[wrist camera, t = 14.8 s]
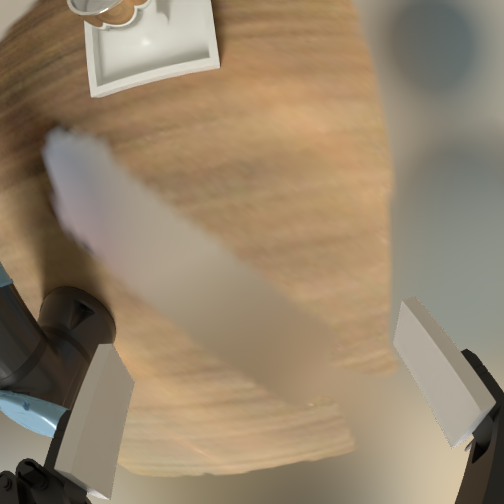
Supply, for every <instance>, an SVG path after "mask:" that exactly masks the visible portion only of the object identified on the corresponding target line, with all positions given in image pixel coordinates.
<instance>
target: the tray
mask: <svg viewBox="0 0 504 504" xmlns="http://www.w3.org/2000/svg"><path fill="white" fill-rule="evenodd" d="M157 6H158V7H160V8H161V9H162V10H164V12H165V13H166V14H167V17H168V27H167V30H166V32H165V33H164V35H163V36H162V37H161V38H160V39H159V40H157V41H156V42H154V43H153V44H150V45H147V46H143V47H137V46H132V45H130V44H128V43H127V42H126V41H125V40H124V39H123V37H122V35H120V34H114V33H109V32H106V31H103V30H100V29H98V28H96V27H94V26H92V25H90V24H89V23H87V22H86V21H85V20H84V23H85V42H86V56H87V67H88V76H89V85H90V92H91V97H98V98H101V97H104V96H107V95H110V94H113V93H116V92H119V91H123V90H126V89H129V88H133V87H136V86H140V85H143V84H147V83H151V82H155V81H159V80H163V79H167V78H172V77H176V76H181V75H186V74H191V73H196V72H201V71H207V70H213V69H220V63H219V56H218V49H217V42H216V35H215V28H214V20H213V13H212V6H211V0H157Z"/></svg>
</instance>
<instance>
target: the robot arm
mask: <svg viewBox="0 0 504 504" xmlns="http://www.w3.org/2000/svg"><path fill="white" fill-rule="evenodd" d="M115 337H116V329H115V324H114V322H113V319H112V317H111V316H110V314H109V312H108V311H107V310H106V308H105V307H104V306H103V305H102V304H101V303H100V302H99V301H98V300H96V299H95V298H94V297H93V296H91V295H90V294H88V293H86V292H84V291H82V290H79V289H76V288H73V287H59V288H56V289H54V290H52V291H51V292H50V293H49V294H48V295H47V297H46V298H45V299H44V301H43V302H42V305H41V308H40V314H39V318H38V321H36V320H35V318H34V317H33V315H32V314H31V312H30V311H29V309H28V308H27V306H26V305H25V303H24V301H23V300H22V298H21V296H20V295H19V293H18V291H17V289H16V288H15V286H14V284H13V280H12V279H10V277H9V275H8V274H7V272H6V271H5V269H4V267H3V265H2V264H1V262H0V409H1V410H2V411H3V412H4V413H5V414H6V415H7V416H8V417H10V418H11V419H12V420H14V421H15V422H17V423H18V424H20V425H22V426H23V427H25V428H27V429H29V430H31V431H34V432H36V433H39V434H42V435H45V436H49V437H54V438H53V439H52V441H51V444H50V447H49V451H48V454H47V457H46V460H45V464H44V466H43V467H42V466H41V465H40V464H38V463H37V462H36V461H34V460H33V459H29V458H27V459H23V460H22V461H21V462H19V464H18V466H17V468H16V472H15V473H16V475H14V474H13V473H12V472H10V471H3V472H1V473H0V504H92V503H91V502H90V500H89V499H88V498H87V497H86V495H87V492H88V493H90V494H92V495H93V496H95V497H99V498H104V499H109V500H111V495H112V487H113V482H114V476H115V470H116V465H117V459H118V454H119V449H120V444H121V439H122V434H123V430H124V425H125V421H126V416H127V412H128V408H129V403H130V399H131V395H132V391H133V387H134V383H135V382H134V381H133V379H132V377H131V375H130V374H129V372H128V370H127V369H126V367H125V365H124V363H123V362H122V360H121V358H120V356H119V354H118V353H117V351H116V349H115V347H114V345H113V343H114V341H115ZM393 345H394V346H395V348H396V350H397V351H398V353H399V354H400V356H401V358H402V359H403V361H404V363H405V364H406V366H407V367H408V370H409V371H410V373H411V374H412V376H413V378H414V380H415V382H416V383H417V385H418V387H419V388H420V390H421V392H422V394H423V396H424V397H425V399H426V401H427V403H428V405H429V407H430V408H431V410H432V412H433V414H434V416H435V418H436V420H437V421H438V423H439V425H440V427H441V429H442V431H443V433H444V435H445V437H446V439H447V441H448V443H449V445H450V447H451V448H454V447H455V446H457V445H459V444H461V443H462V442H464V441H466V440H467V439H468V438H469V436H470V435H471V434H473V436H474V439H473V440H472V441H471V442H470V443H469V444H468V445H467V447H466V449H465V451H467V450H468V449H469V448H470V447H471V450H470V454H469V458H468V462H467V466H466V469H465V473H464V476H463V480H462V483H461V486H460V489H459V492H458V495H457V498H456V501H455V504H504V392H503V391H502V389H501V388H500V387H499V385H498V384H497V382H496V381H495V379H494V378H493V377H492V375H491V374H490V373H489V372H488V370H487V369H486V367H485V366H484V365H483V364H482V362H481V361H480V359H479V358H478V357H477V355H475V354H474V353H472V352H471V351H469V350H468V349H465V350H463V351H461V352H460V351H459V349H458V348H457V347H456V345H455V344H454V343H453V341H452V340H451V339H450V338H449V336H448V335H447V334H446V333H445V331H444V330H443V329H442V328H441V326H440V325H439V324H438V323H437V321H436V320H435V319H434V318H433V317H432V315H431V314H430V313H429V312H428V311H427V309H426V308H425V307H424V306H423V305H422V304H421V302H420V301H419V300H418V299H417V298H416V297H412V298H408V299H404V300H402V304H401V308H400V313H399V318H398V323H397V328H396V332H395V336H394V341H393Z"/></svg>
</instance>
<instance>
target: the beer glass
mask: <svg viewBox="0 0 504 504" xmlns="http://www.w3.org/2000/svg"><path fill="white" fill-rule="evenodd" d="M67 4H68V6H69V8H70V9H71V11H73V12H74V13H76V14H77V15H78V16H80V17H81V18H82V19H83V20H85V21H86V22H87V23H89V24H90V25H92V26H94V27H96V28H98V29H100V30H103V31H106V32H109V33H114V34H120V35H122V37H123V39H124V40H125V41H126V42H127V43H128V44H130V45H132V46H137V47H143V46H147V45H150V44H153V43H154V42H156V41H157V40H159V39H160V38H161V37H162V36H163V35H164V33H165V32H166V30H167V27H168V17H167V14H166V13H165V12H164V10H162V9H161V8H160V7H158V6H157V0H67Z"/></svg>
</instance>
